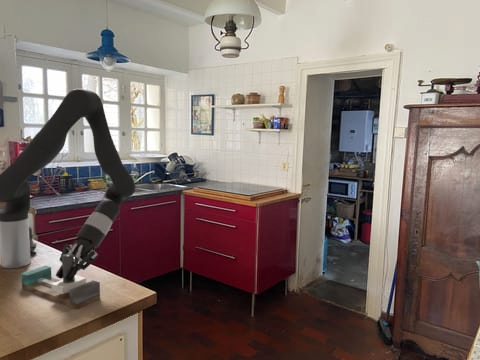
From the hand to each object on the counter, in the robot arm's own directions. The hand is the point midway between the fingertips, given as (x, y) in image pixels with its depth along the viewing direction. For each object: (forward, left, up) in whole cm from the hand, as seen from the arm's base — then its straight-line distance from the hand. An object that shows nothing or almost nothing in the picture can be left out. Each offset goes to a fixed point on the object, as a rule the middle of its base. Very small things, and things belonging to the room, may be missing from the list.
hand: (62, 278), depth 107 cm
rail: (-4, +2, -6) cm, 8 cm away
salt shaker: (-46, +18, -7) cm, 50 cm away
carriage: (0, +2, -3) cm, 4 cm away
